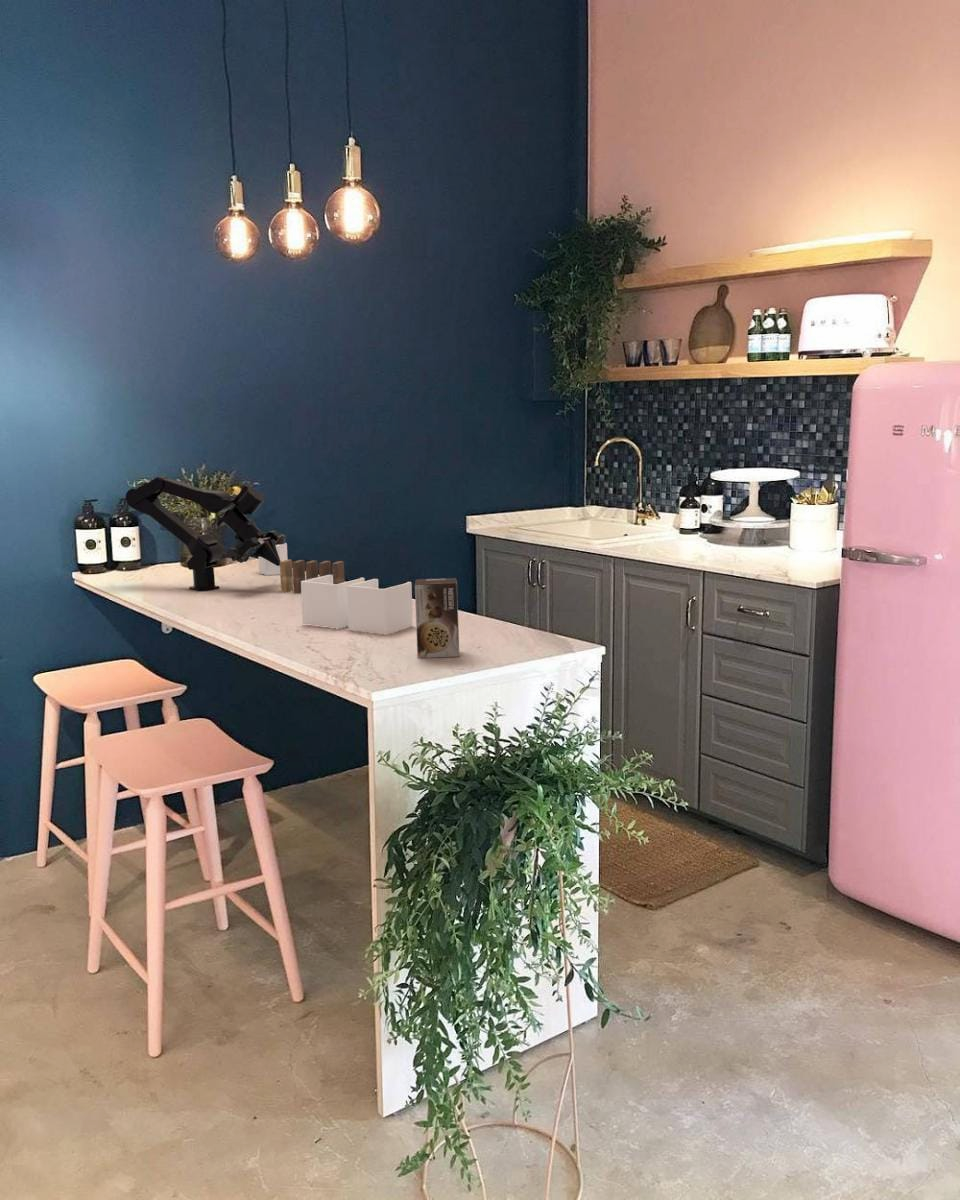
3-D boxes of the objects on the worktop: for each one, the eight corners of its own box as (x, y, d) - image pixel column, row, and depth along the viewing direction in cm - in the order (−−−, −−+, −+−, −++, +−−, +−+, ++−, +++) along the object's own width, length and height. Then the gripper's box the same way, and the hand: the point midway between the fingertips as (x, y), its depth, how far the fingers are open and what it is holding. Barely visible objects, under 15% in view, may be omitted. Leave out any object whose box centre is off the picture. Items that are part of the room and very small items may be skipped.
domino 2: (293, 593, 317) (292, 562, 315) (300, 590, 321) (299, 560, 320) (299, 593, 316) (297, 562, 315) (305, 590, 321) (304, 560, 319)
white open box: (302, 625, 274) (300, 581, 271) (331, 617, 283) (329, 574, 281) (385, 635, 261) (384, 589, 259) (412, 627, 270) (411, 582, 268)
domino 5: (333, 594, 314) (332, 563, 312) (339, 591, 318) (338, 561, 317) (338, 594, 313) (337, 563, 312) (345, 591, 318) (343, 561, 316)
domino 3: (306, 593, 316) (305, 562, 314) (313, 590, 320) (312, 560, 319) (312, 593, 315) (310, 563, 314) (318, 590, 320) (317, 560, 318)
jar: (269, 570, 358) (267, 533, 356) (292, 571, 356) (290, 534, 353) (254, 574, 350) (252, 536, 348) (277, 575, 347) (275, 537, 345)
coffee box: (458, 650, 244) (457, 577, 241) (459, 657, 238) (458, 582, 235) (417, 651, 244) (415, 578, 241) (416, 658, 237) (414, 583, 234)
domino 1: (281, 592, 318) (279, 561, 317) (288, 589, 323) (286, 559, 321) (286, 592, 318) (284, 562, 316) (293, 589, 322) (291, 559, 321)
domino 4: (320, 594, 315) (318, 563, 313) (326, 591, 319) (325, 560, 318) (325, 594, 314) (324, 563, 313) (331, 591, 319) (330, 560, 317)
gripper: (239, 541, 331) (276, 578, 330) (209, 550, 313) (247, 589, 313) (262, 515, 328) (299, 552, 327) (233, 522, 310) (272, 562, 309)
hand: (279, 565), depth 319 cm, fingers closed
